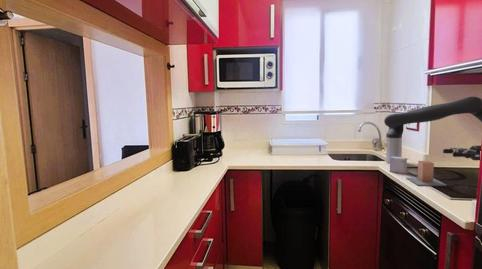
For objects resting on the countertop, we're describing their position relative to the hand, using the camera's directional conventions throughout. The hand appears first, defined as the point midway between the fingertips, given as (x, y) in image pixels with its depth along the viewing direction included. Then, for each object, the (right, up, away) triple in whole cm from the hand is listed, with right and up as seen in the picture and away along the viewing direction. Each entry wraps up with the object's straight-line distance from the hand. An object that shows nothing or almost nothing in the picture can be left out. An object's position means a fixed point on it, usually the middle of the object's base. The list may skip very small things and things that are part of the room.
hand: (448, 152), depth 141 cm
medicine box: (-13, -13, +22) cm, 29 cm away
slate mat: (-11, -15, +1) cm, 19 cm away
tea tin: (-11, -15, +1) cm, 18 cm away
